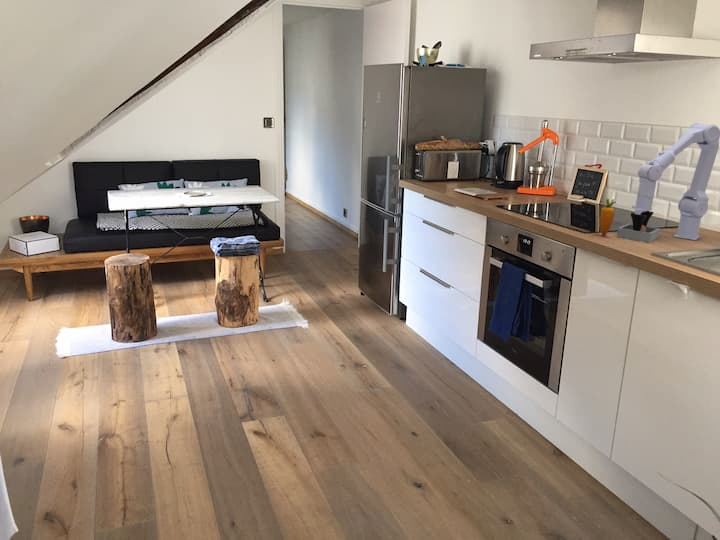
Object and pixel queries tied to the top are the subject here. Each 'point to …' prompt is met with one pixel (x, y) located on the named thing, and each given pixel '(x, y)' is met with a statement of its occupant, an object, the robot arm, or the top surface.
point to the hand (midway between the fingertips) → (638, 230)
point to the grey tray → (638, 233)
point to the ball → (642, 229)
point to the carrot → (606, 217)
